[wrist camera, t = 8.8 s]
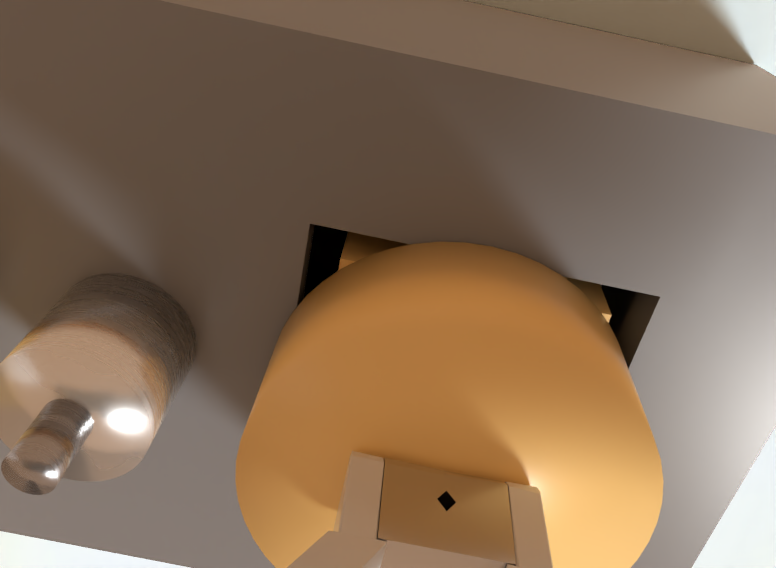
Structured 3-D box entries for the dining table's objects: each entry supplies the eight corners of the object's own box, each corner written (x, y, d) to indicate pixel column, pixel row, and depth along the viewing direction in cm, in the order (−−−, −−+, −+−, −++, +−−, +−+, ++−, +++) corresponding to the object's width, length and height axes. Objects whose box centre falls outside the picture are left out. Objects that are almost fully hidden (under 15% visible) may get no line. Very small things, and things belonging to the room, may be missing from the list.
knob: (335, 114, 16) (258, 277, 10) (620, 176, 17) (738, 376, 10) (297, 352, 20) (219, 597, 13) (535, 400, 20) (581, 666, 13)
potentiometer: (54, 259, 13) (-74, 383, 10) (201, 289, 13) (122, 422, 10) (58, 376, 14) (-54, 520, 11) (192, 403, 14) (119, 553, 11)
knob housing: (-281, -165, 16) (-723, -192, 10) (756, 64, 17) (930, 168, 11) (-181, 292, 22) (-421, 449, 16) (588, 446, 23) (639, 653, 17)
